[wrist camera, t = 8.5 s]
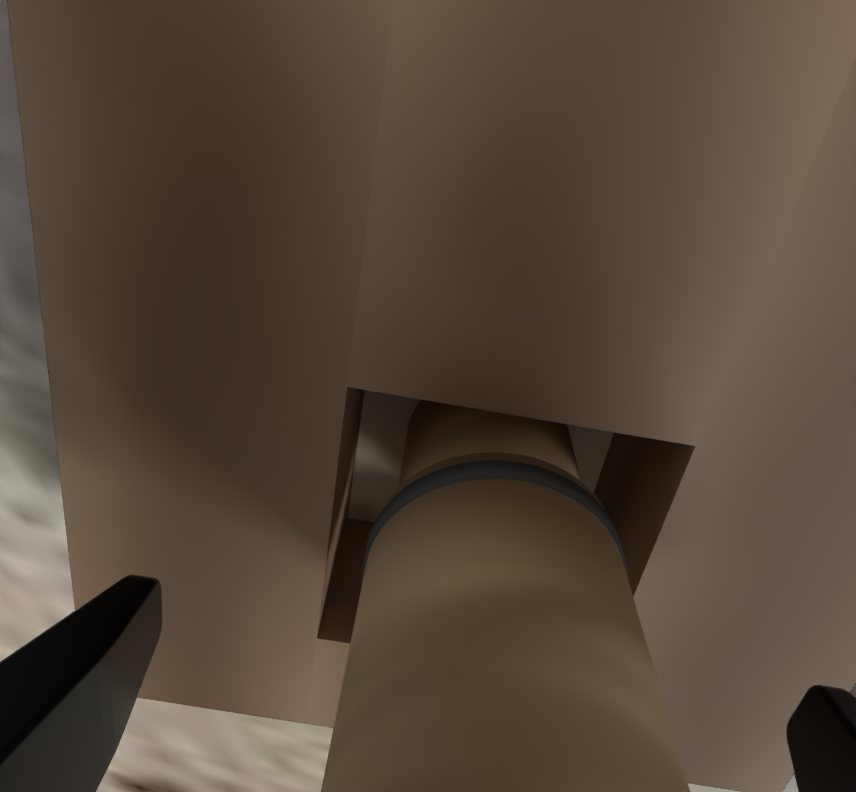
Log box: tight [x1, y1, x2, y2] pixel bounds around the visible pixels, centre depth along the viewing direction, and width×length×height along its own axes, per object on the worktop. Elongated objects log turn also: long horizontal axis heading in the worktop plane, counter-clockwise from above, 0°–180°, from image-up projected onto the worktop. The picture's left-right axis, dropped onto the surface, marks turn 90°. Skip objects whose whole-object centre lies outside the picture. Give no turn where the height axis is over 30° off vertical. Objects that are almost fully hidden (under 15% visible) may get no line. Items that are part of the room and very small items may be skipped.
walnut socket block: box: [7, 0, 856, 792], centre depth 11 cm, size 14×20×4 cm
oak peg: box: [321, 400, 690, 792], centre depth 10 cm, size 4×4×9 cm
